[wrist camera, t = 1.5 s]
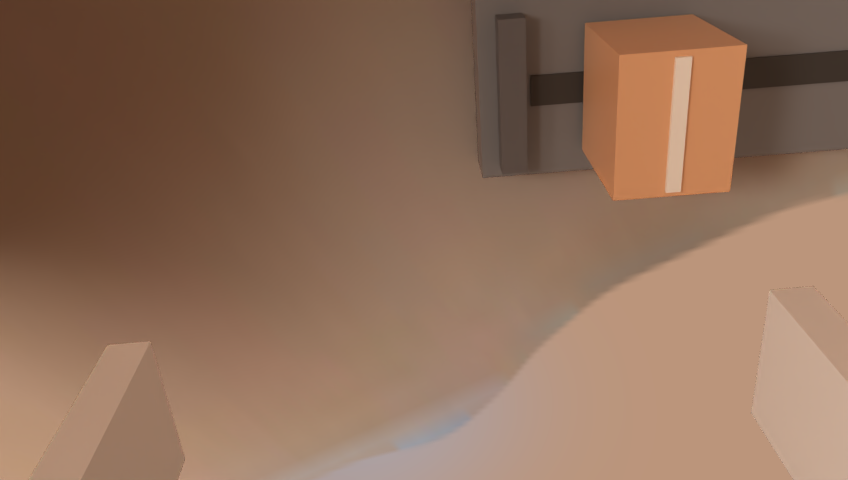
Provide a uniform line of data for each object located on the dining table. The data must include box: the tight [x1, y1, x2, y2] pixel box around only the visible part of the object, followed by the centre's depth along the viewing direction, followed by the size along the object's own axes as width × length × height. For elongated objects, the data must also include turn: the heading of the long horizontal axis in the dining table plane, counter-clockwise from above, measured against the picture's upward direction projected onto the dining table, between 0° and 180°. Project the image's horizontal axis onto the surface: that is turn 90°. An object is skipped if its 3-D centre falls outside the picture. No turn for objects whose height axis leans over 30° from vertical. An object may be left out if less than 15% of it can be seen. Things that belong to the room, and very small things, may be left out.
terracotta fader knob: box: [582, 14, 747, 201], centre depth 27 cm, size 4×5×5 cm
